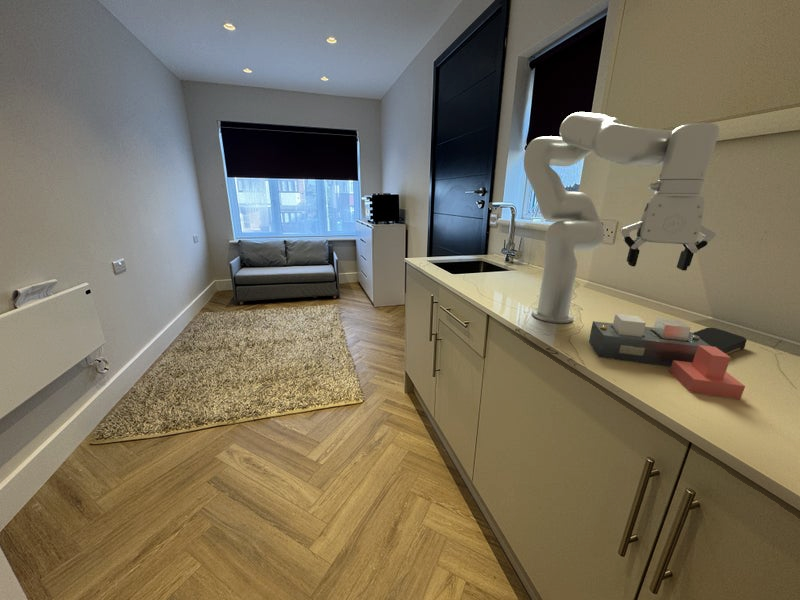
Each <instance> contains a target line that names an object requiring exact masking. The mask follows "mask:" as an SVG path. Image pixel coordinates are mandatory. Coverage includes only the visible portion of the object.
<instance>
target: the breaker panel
mask: <svg viewBox="0 0 800 600" xmlns="http://www.w3.org/2000/svg"><path fill="white" fill-rule="evenodd" d="M612 326H613V322H604V321H602V322H601V321H595V320H593V321H592V325H591V329H590V334H589V337H588V343H589V345H590V346H591V347H592V349H593V350H594V352H595V354H596V355H597V357H598V358H601V359H607V360H616V361H624V362H632V363H637V364H638V363H639V364H647V365H653V366H654V365H655V366H661V367H670V368H671V366H672V362H673V360H676V361H684V362H692V363H693V360H694V357H695V354H696V351H697V348H698V345H703V346H710V345H709V344H707V343H706V342H704V341H703V340H701V339H700V338H699V336H696V335H694V334H693V333H694V332H692V331H691V328H692V327H691V326H689V325H688V324H686V323H685V322H683V321H682V320H680V319H673V318H663V317H662V318H661V317H656V318H655V320H654V323H653V327H652V326H651V327H650V326H645V328H644V332H643V336H642V337H638V336H629V335H621V334H617V333H616V332H615V331H614V330H613V329H612Z"/></svg>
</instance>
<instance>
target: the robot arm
mask: <svg viewBox="0 0 800 600" xmlns="http://www.w3.org/2000/svg"><path fill="white" fill-rule="evenodd" d="M719 133H720V126H719V125H718V124H717V123H712V122H696V123H687V124H684V125H680V126H678V127H676V128H674V129H673V130H668V129H667V130H666V129H665V130H664V129H657V128H648V127H647V128H646V127H637V126H630V125H625V124H622V122H621V120H620V119H619V118H616V117H611V116H608V115H607V114H604V113H603V114H602V113H594V112H585V111H579V112H578V111H577V112H574V113H571V114H570V115H568V116H566V118H564V120H563V121H562V122H561V124H560V127H559V136H552V135H550V136H539V137H536V138H534V139H532V140H531V141H530V142H529V143H528V145H527V147H526V148H525V152H524V156H523V171H524V172H525V176H526V177H527V179H528V181H529V183H530V185H531V187H532V190H533V193H534V196H535V199H536V201H537V204H538V207H539V210H540V214H541V216H542V217H543V219H544V220H546V221H547V222H551V223H552V224H550V225H549V226H548V228H547V230H546V232H545V235H544V245H545V249H544V251H545V253H544V254H545V255H544V256H545V257H544V263H543V272H542V278H541V279H542V280H541V285H540V292H539V299H538V303H537V304H538V305H537V307H536V308H533V309H532V311H531V314H532V316H533V317H534V318H536V319H538V320H541V321H544V322H547V323H555V324H567V323H571V322H573V320H574V315H573V314H572V313H570V309H571V303H572V299H573V298H572V296H573V292H574V286H575V281H576V278H577V277H576V275H577V270H578V262H577V258H576V256H575V252H583V251H587V252H588V251H592V250H596V249H597V248H599V247H600V246H601V245H602V243H603V242H604V238H605V232H604V227H603V224H602V221H601V219H600V216H599V213H598V212H597V209H596V206H595V204H594V202H593V200H592V198H591V197H590V196H589V195H588V194H586V193H585V192H582V191H569V190H566V189H565V186H564V185H563V182H562V179H561V177H560V176H559V174H558V173H557V171H555V169H553V168H552V166H554V167H557V166H558V167H570V166H573V165H574V164H577V163H578V162H579V161H582V160H583V159H584V158H586V157H587V156H588V155H591V154H592V153H594V154H595V156H596V157H598V158H602V159H604V160H607V161H610V162H613V163H616V164H619V165H623V166H624V165H625V166H636V167H653V168H654V167H655V168H659V167H660V168H661V171H660V174H659V177H658V180H657V181H656V182H654V183H653V182H652V183H650V184H649V186H648V190H650V191H653V193H654V195H650V197H649V199H648V201H647V203H646V205H645V208H644V210H643V212H642V214H641V218H640V220H639V221H638V222H635V223H633V224H630V225H627V226H624V227H622V228H620V229H619V230H620V233H621V237H622V240H623V241H624V242H625V244H626V245H627V246H628V248H629V249H628V253H627V258H626V262H627V263H628V264H627V265H629V266H630V267H634V268H635V267H636V266H637V262H638V258H639V255H640V252H641V251H640V249H639V248H640V247H641V246H642V245H644V244H645V243H646V242H647V243H659V244H673V245H681V246H682V247H683V248H684V250H682V251H680V255H679V258H678V261H677V264H676V268H677V269H679V270H681V271H685V272H686V271H687V270H688V267H690V266H691V264H692V261H693V257H694V256H695V255H694V254H696V253H697V252H698V251H699V250H701V249H702V248H704V247H706V246H707V245H708V243H710V242H711V241H712V240H714V238H715V237H716V236H717V234H716V232H714V231H713V230H710V229H709V228H707V227H705V226H703V225H702V221H703V216H704V209H705V198H706V197H705V196H700V195H701V192H702V189H703V185H704V184H705V183H704V182H705V179H706V176H707V174H708V170H709V166H710V163H711V159H712V156H713V153H714V150H715V147H716V145H717V140H718V137H719ZM636 230H637V231H636ZM634 231H636V237H635V238H634V239H632V237H631V235H630V233H631V232H634ZM700 234H701V235H702V237H701V238H700V239H699V240H698V237H699V235H700Z"/></svg>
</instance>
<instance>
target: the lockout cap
mask: <svg viewBox="0 0 800 600" xmlns="http://www.w3.org/2000/svg"><path fill="white" fill-rule="evenodd" d="M731 359H732V357H731V356H730V355H729V354H725V353H724V352H722V351H721V350H719V349H718V348H716V347H712V346H703V345H698V348H697V351H696V354H695V357H694V360H693V363H692V362H684V361H676V360H673V362H672V366H671V367H670V369H669V373H671V375H672V376H673V377H674V378H675V380H676V381H678V382H679V383H680V384H681V385H682V386H683V387H684V388H685V389H686V390H687V391H688V392H689V393H694V394H695V393H696V394H701V395H702V394H703V395H709V396H715V397H723V398H728V399H734V400H741V398H742V396H743V393H744V391H745V389H746V386H745V385H744V384H743V383H742V382H740V381H739V380H738V379H736V378H735V377H734V376H732V375H731V374H730V373H728V372H727V369H728V367H729V365H730V361H731Z"/></svg>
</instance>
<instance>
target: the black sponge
mask: <svg viewBox="0 0 800 600" xmlns="http://www.w3.org/2000/svg"><path fill="white" fill-rule="evenodd" d="M692 333H693V334H694V335H696V336H699V338H700V339H701V340H703V341H704V342H706V343H707V344H709V345H710V346H712V347H716V348H718V349H719V350H721V351H722V352H724V353H725V354H727V355H729V354H731V353H734V352H736V351H742V350H744V349H745V347H746V345H747V341H748V339H747V338H746V337H744V336H742V335H738V334H735V333H732V332H729V331H726V330H724V329H719V328H716V327H706V328H702V329H700V330H698V331H694V332H692Z"/></svg>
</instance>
